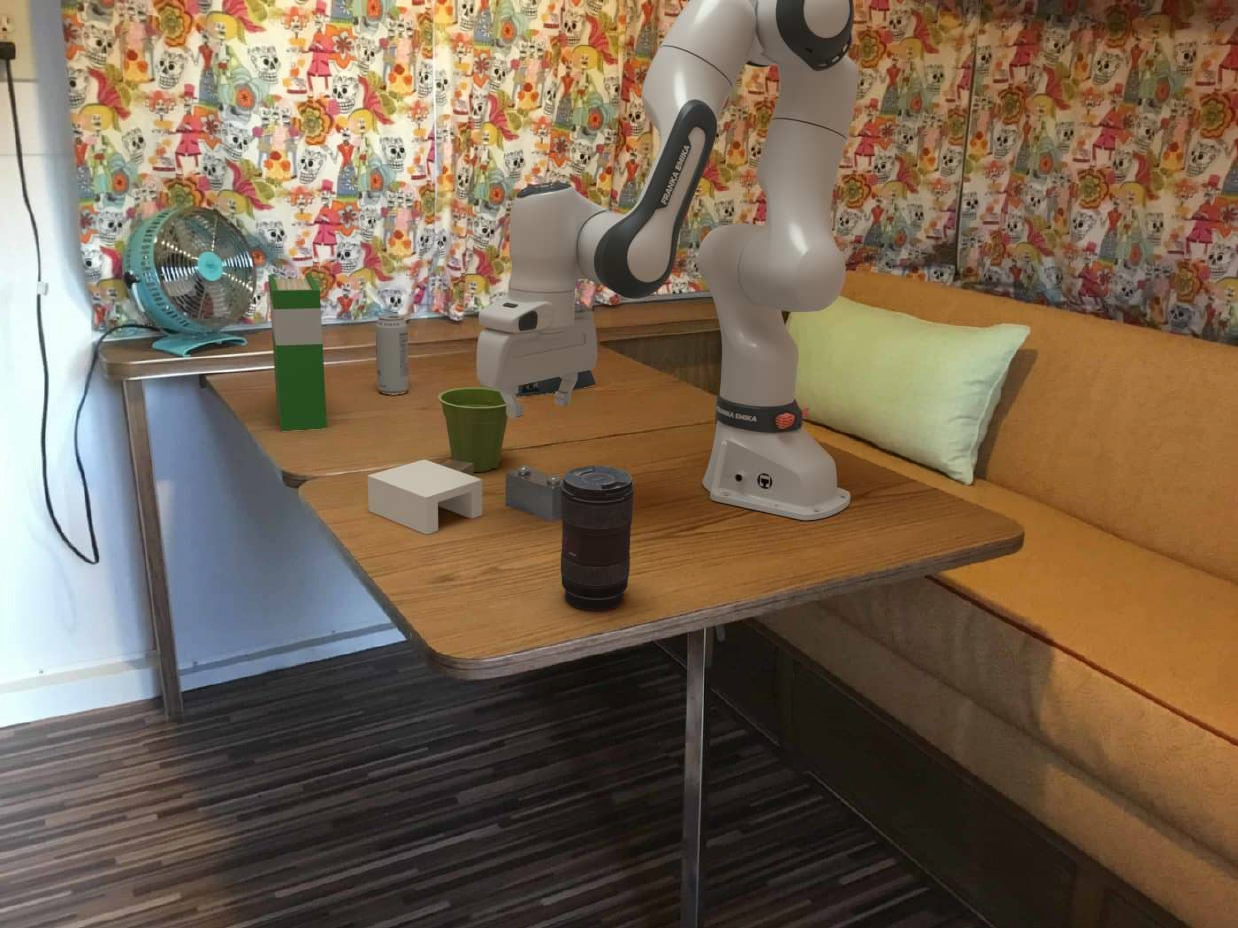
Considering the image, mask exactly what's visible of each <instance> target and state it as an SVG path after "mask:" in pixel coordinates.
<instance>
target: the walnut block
mask: <svg viewBox="0 0 1238 928" xmlns="http://www.w3.org/2000/svg"><path fill="white" fill-rule="evenodd" d="M440 465H442V466H445V467H448V468H450V469H453V470H456V471H459V472H462V473H465V474H468V475H471V476H473V477H474V472H473V463H468V462H462V461H456V460H452V459H448V460H446V461H444V462H442V463H441V464H440Z"/></svg>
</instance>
